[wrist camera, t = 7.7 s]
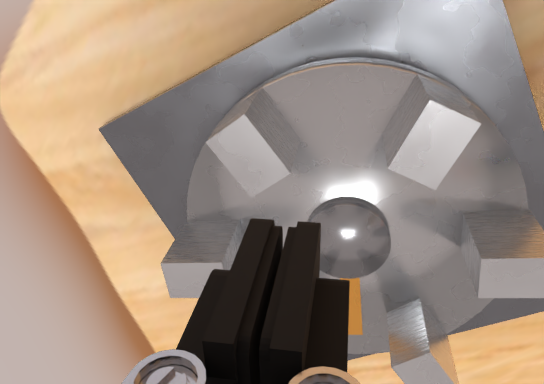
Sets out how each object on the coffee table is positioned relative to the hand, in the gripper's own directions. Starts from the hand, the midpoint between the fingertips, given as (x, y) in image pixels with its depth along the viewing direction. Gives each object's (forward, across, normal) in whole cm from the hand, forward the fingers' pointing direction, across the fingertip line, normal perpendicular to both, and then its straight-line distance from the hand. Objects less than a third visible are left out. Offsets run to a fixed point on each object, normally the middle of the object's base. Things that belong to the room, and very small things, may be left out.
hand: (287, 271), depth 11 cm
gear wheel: (+17, -2, +8) cm, 19 cm away
